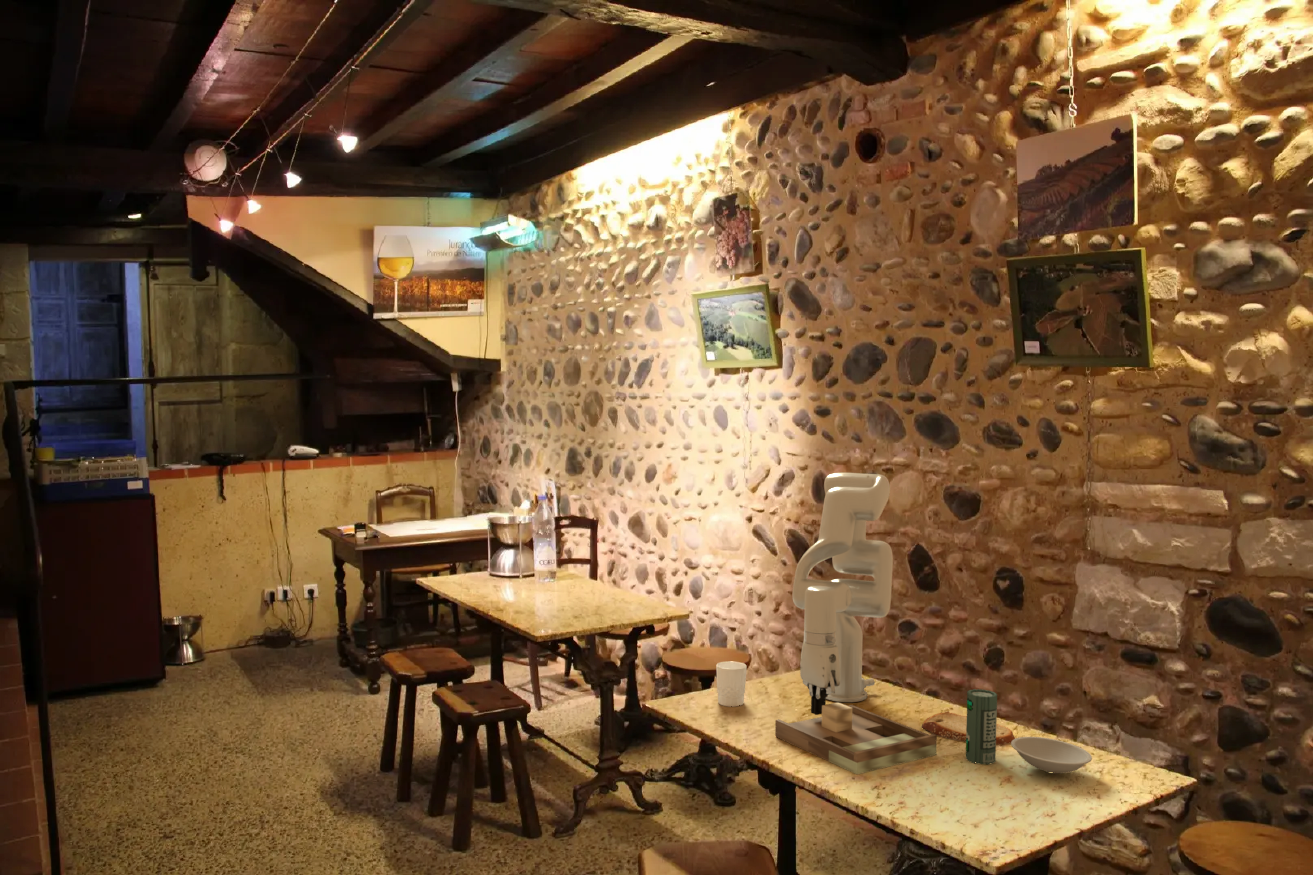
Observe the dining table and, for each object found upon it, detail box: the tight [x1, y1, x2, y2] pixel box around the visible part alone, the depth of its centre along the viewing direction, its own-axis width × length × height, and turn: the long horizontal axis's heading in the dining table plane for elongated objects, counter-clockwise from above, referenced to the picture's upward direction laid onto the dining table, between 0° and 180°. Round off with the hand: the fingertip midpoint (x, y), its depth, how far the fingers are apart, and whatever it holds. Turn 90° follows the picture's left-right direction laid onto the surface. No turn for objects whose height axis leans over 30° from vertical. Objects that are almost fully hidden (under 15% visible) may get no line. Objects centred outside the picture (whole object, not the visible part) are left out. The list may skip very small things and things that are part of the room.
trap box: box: [774, 704, 938, 775], centre depth 242 cm, size 24×28×4 cm
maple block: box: [821, 702, 852, 732], centre depth 247 cm, size 5×5×5 cm
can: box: [965, 688, 998, 765], centre depth 234 cm, size 6×6×15 cm
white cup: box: [715, 660, 747, 707], centre depth 274 cm, size 8×8×10 cm
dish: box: [1010, 736, 1093, 774], centre depth 227 cm, size 18×14×5 cm
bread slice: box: [921, 711, 1016, 745], centre depth 252 cm, size 18×18×4 cm
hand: (818, 712), depth 253 cm, fingers closed
